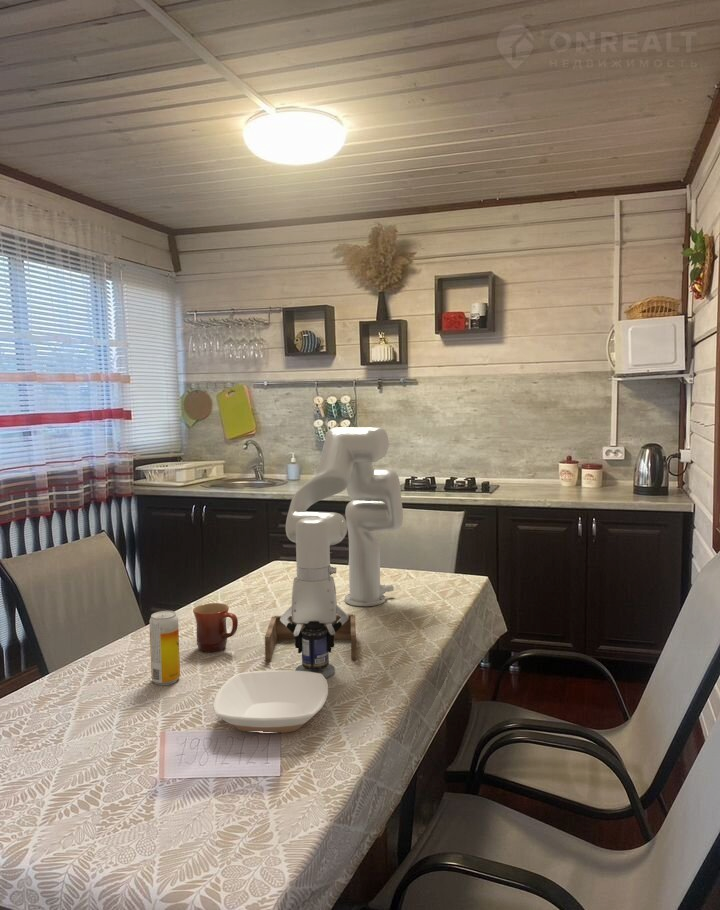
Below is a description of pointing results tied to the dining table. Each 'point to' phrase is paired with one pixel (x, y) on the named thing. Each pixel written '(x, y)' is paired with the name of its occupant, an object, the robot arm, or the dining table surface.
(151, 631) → the beer can
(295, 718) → the bowl
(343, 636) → the u-shaped wooden arch
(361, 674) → the dining table surface
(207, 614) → the mug
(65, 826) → the dining table surface
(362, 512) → the robot arm
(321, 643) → the pill bottle
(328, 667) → the slate coaster
